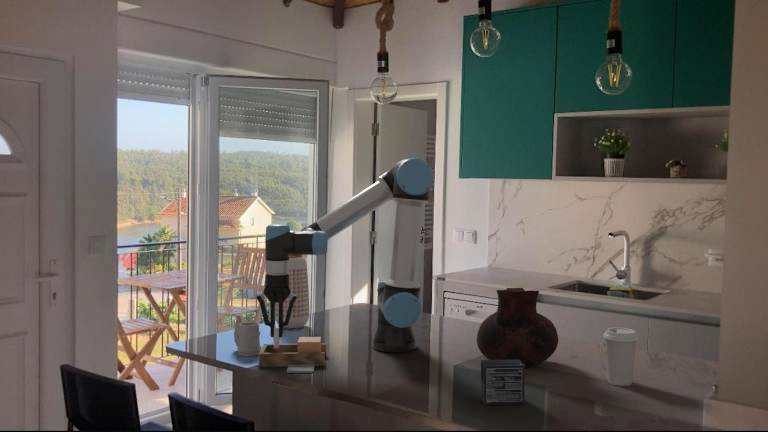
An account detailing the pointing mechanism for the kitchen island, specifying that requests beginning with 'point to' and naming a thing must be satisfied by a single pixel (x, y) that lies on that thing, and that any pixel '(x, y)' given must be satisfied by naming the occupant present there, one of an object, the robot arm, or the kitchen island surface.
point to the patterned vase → (299, 288)
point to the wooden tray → (289, 356)
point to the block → (309, 344)
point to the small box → (502, 382)
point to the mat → (300, 368)
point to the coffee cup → (620, 355)
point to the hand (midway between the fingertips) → (276, 347)
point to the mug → (247, 337)
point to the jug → (517, 330)
